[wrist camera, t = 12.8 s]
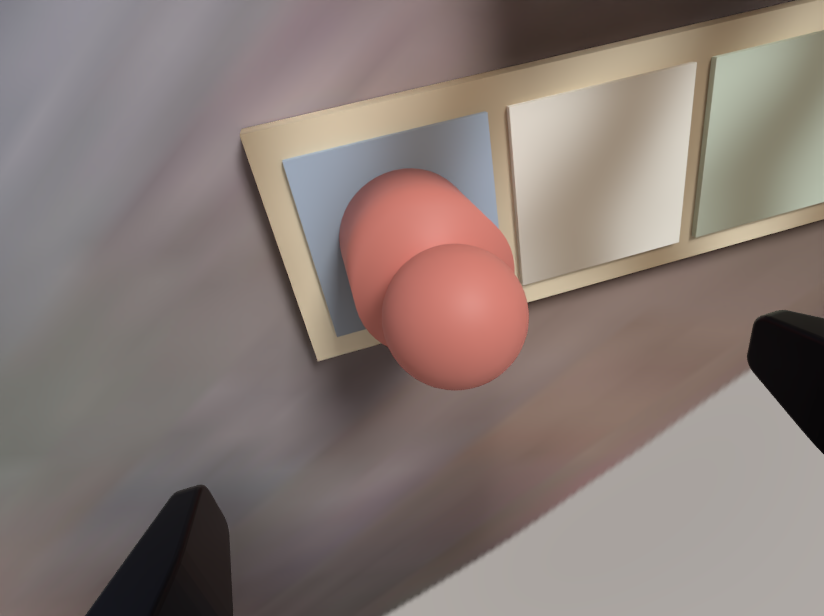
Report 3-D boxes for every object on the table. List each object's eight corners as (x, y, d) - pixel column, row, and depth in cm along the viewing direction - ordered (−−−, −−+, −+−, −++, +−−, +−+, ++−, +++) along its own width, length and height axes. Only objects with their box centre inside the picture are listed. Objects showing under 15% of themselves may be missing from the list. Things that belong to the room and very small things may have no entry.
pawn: (462, 153, 14) (574, 237, 9) (478, 277, 16) (575, 405, 11) (323, 187, 13) (352, 296, 8) (356, 310, 15) (397, 459, 10)
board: (1058, -61, 16) (1102, -65, 15) (970, 165, 19) (1002, 172, 19) (241, 129, 13) (239, 136, 12) (316, 347, 17) (318, 365, 16)
